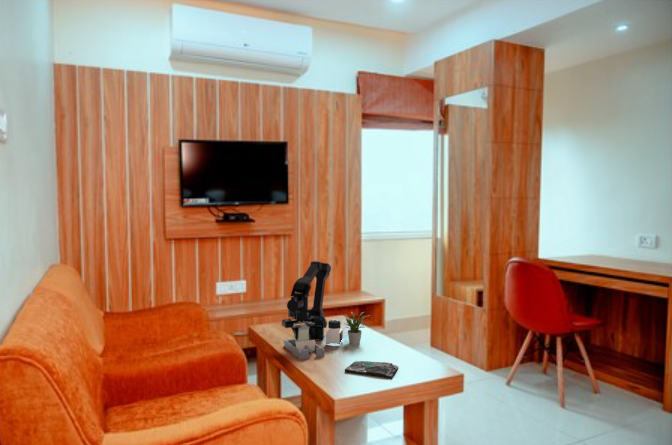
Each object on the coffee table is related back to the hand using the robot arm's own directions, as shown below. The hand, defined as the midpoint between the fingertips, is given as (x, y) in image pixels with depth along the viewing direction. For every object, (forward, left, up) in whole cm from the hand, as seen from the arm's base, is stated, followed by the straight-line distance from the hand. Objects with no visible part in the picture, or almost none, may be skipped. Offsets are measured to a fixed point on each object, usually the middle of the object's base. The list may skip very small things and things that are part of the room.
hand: (301, 339), depth 230 cm
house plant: (-25, -14, -5) cm, 29 cm away
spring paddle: (-4, +6, -5) cm, 9 cm away
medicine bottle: (-14, -10, -5) cm, 18 cm away
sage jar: (0, 0, -2) cm, 2 cm away
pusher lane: (-2, +3, -5) cm, 6 cm away
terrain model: (-36, +21, -6) cm, 42 cm away
